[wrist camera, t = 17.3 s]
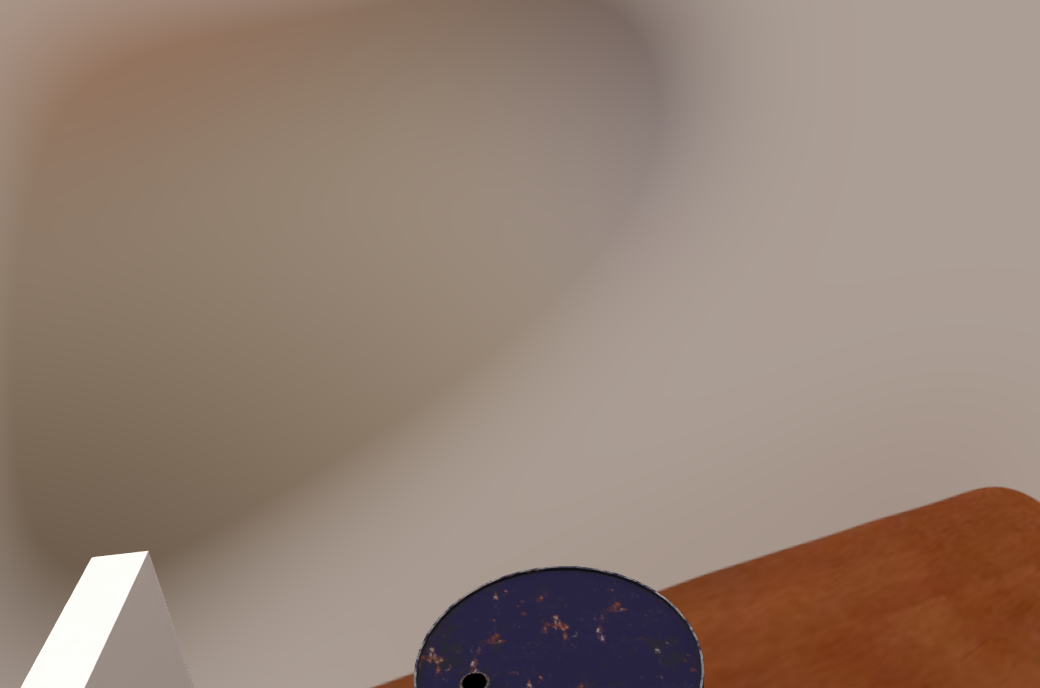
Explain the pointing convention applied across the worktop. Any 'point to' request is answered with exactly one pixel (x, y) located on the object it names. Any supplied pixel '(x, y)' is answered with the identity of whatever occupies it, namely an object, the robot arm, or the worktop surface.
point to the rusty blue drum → (561, 635)
